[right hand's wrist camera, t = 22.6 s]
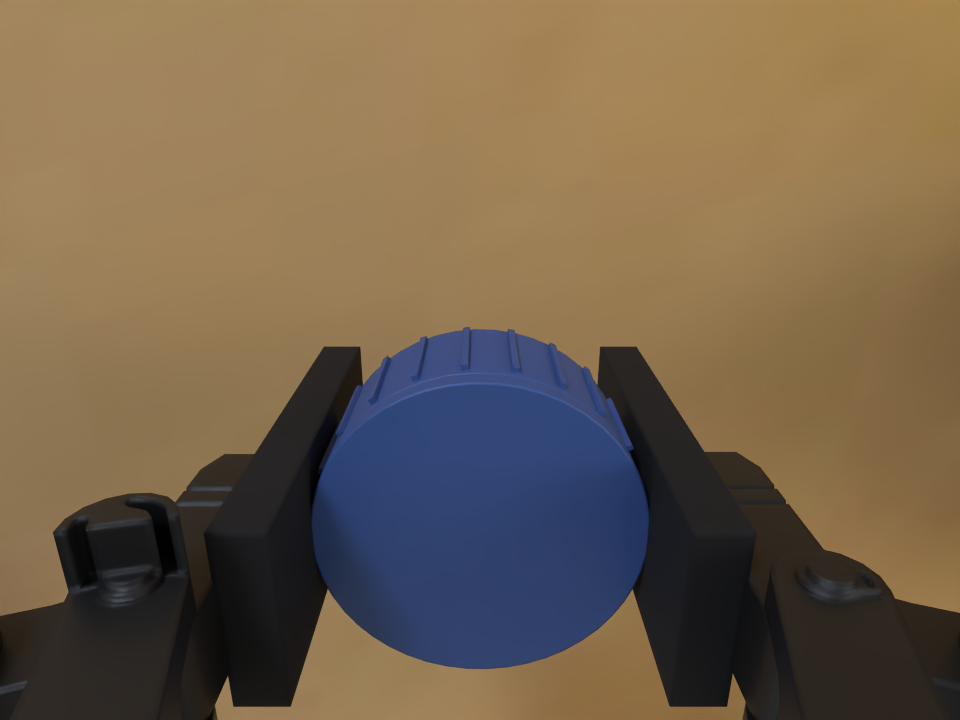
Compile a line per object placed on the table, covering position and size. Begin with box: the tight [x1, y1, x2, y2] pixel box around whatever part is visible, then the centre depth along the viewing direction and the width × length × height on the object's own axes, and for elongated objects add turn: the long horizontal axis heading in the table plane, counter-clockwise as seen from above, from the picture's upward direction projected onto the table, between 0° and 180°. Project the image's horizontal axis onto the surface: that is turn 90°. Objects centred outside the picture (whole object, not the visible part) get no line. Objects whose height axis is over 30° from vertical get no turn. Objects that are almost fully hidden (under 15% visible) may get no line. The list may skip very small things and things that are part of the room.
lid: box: [311, 327, 650, 669], centre depth 11 cm, size 5×5×2 cm
